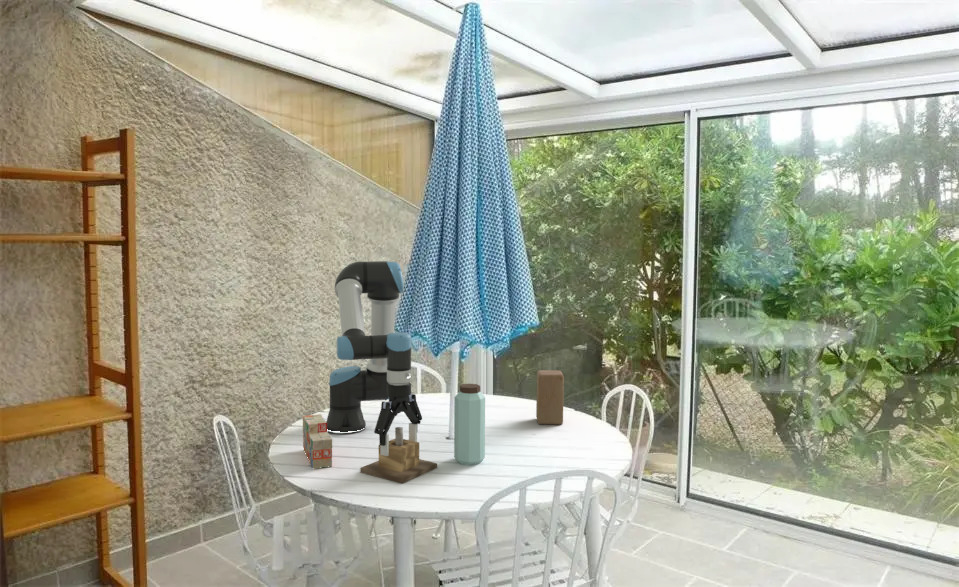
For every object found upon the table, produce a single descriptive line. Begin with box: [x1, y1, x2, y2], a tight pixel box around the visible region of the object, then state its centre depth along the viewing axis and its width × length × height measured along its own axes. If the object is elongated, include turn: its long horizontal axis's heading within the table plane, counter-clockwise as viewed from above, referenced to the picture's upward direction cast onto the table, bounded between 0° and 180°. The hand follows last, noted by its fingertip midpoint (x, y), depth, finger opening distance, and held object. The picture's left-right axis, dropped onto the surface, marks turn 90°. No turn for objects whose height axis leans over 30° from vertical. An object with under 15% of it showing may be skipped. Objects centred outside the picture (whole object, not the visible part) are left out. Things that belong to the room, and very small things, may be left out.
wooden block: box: [535, 369, 565, 426], centre depth 272 cm, size 10×10×20 cm
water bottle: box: [453, 383, 486, 466], centre depth 223 cm, size 10×10×25 cm
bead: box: [378, 438, 420, 472], centre depth 214 cm, size 9×9×7 cm
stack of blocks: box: [302, 414, 333, 469], centre depth 225 cm, size 21×6×12 cm, turn 22°
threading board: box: [359, 426, 438, 485], centre depth 214 cm, size 17×17×14 cm
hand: (399, 449), depth 214 cm, fingers open, 13 cm apart
